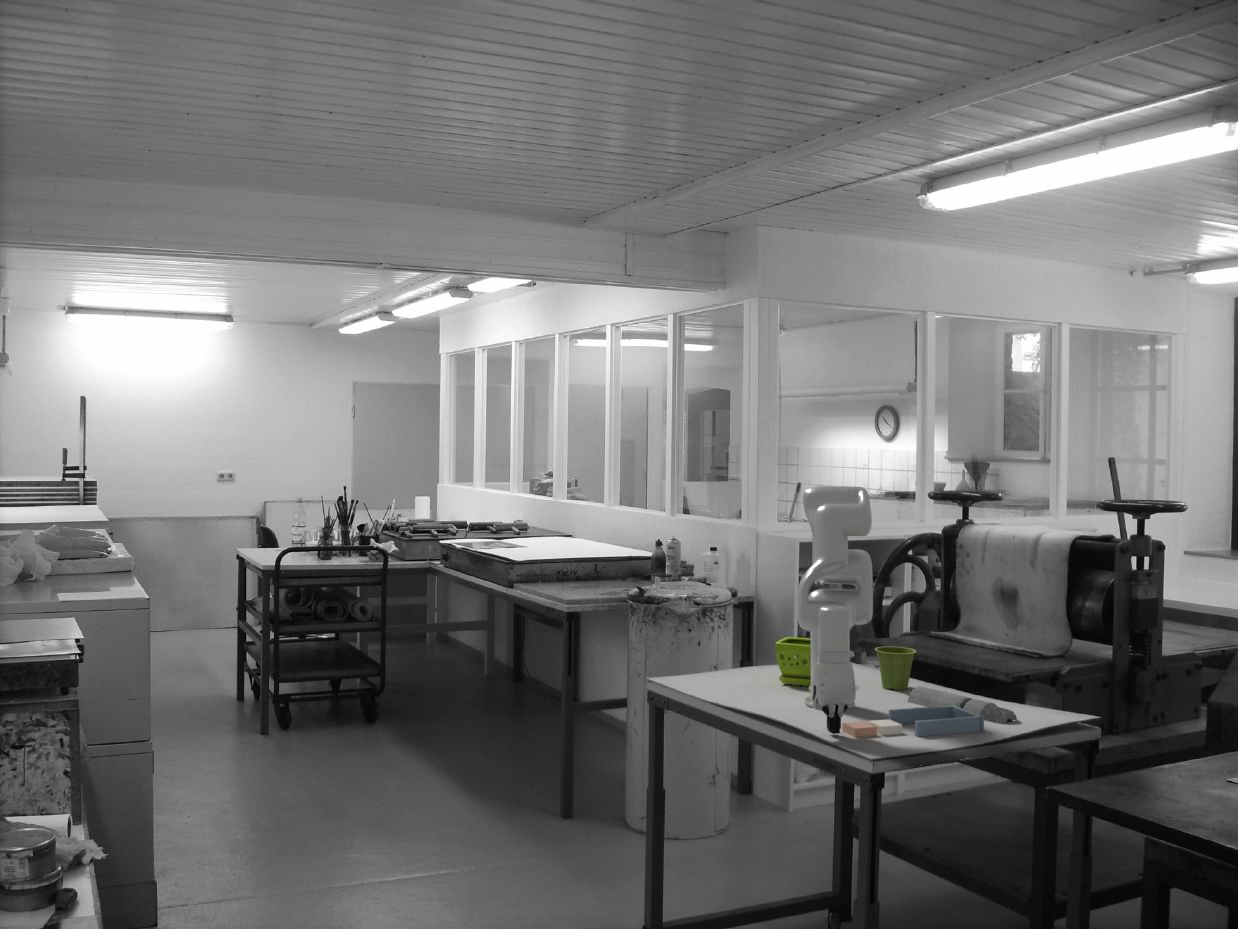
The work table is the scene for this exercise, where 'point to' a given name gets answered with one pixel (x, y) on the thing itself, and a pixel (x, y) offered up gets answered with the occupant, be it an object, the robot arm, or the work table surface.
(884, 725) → the cream tile
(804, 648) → the flower pot
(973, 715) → the box
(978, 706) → the mechanical component
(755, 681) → the work table surface
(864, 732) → the terracotta tile
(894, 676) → the plant pot
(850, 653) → the robot arm
